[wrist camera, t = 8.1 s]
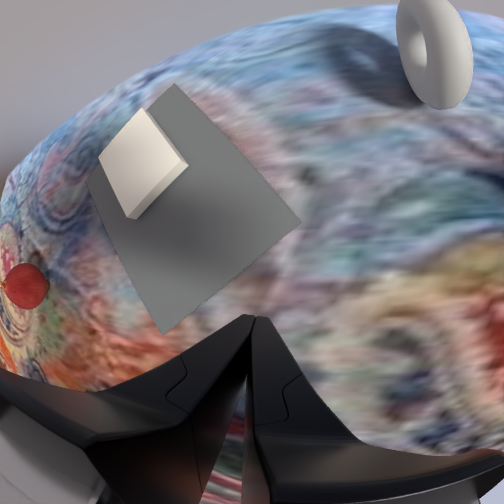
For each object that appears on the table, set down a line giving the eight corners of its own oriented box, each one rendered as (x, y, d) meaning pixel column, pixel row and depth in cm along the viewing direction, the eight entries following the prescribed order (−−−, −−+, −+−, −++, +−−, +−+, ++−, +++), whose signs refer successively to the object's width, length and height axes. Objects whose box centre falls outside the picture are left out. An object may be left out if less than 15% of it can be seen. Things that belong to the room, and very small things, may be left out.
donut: (454, 133, 17) (499, 59, 7) (418, 132, 18) (450, 49, 8) (420, 47, 18) (431, -30, 8) (388, 45, 19) (389, -35, 9)
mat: (301, 222, 20) (300, 221, 20) (164, 334, 23) (162, 335, 23) (176, 85, 25) (174, 83, 25) (87, 181, 28) (85, 180, 28)
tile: (181, 160, 22) (141, 107, 24) (126, 217, 23) (98, 157, 25) (190, 166, 23) (150, 114, 26) (138, 220, 25) (108, 161, 27)
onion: (49, 316, 30) (1, 320, 22) (36, 284, 31) (-9, 284, 24) (62, 287, 29) (9, 288, 21) (48, 255, 30) (-1, 251, 23)
